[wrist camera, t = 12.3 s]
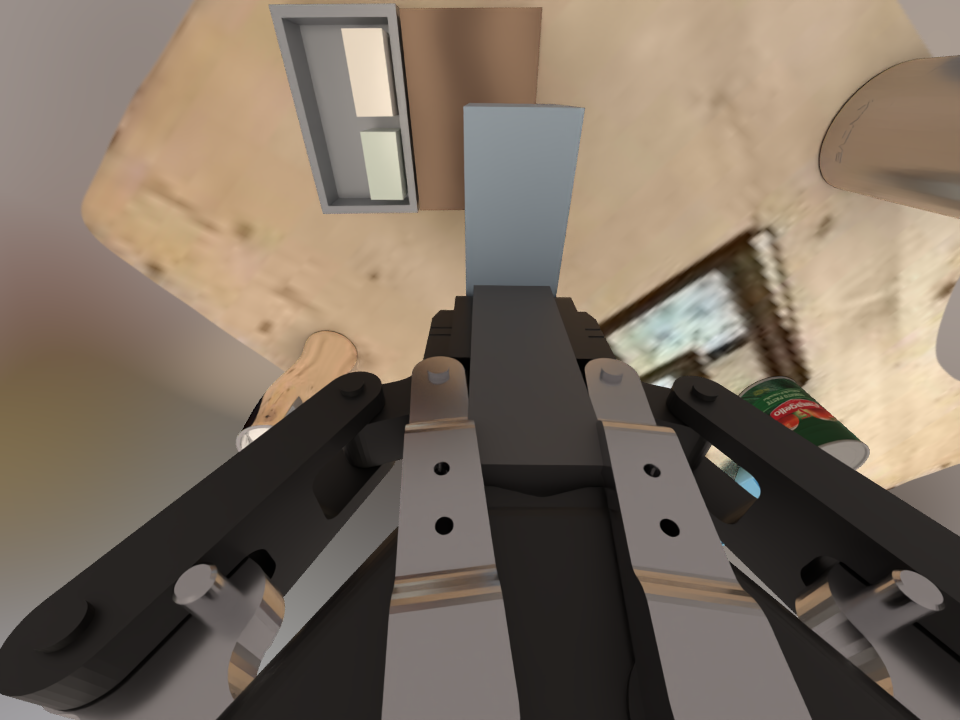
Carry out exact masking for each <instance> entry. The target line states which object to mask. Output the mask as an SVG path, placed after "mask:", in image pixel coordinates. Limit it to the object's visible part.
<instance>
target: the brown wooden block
mask: <svg viewBox="0 0 960 720" xmlns="http://www.w3.org/2000/svg"><path fill="white" fill-rule="evenodd" d="M399 11H400V20H401V30H402V40H403V49H404V59H405V68H406V78H407V88H408V97H409V107H410V117H411V126H412V136H413V146H414V155H415V165H416V175H417V184H418V194H419V204H420V210H465V179H464V111H463V106H465V105H467V104H469V103H504V104H536V90H537V76H538V61H539V47H540V33H541V18H542V7H539V8H407V9H399Z"/></svg>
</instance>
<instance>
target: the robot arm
mask: <svg viewBox="0 0 960 720" xmlns="http://www.w3.org/2000/svg"><path fill="white" fill-rule="evenodd" d="M820 169H821V173H822V176H823V177H824V179H825V180H826V182H827V183H828V184H830V185H832V186H833V187H835V188H839V189H843V190H846V191H850V192H854V193H858V194H862V195H866V196H870V197H874V198H877V199H881V200H885V201H889V202H893V203H897V204H901V205H905V206H909V207H913V208H918V209H922V210H926V211H930V212H934V213H938V214H942V215H946V216H950V217H954V218H958V219H960V55H958V56H946V57H935V58H924V59H915V60H911V61H907V62H903V63H900V64H898V65H896V66H894V67H891V68H889V69H887V70H886V71H884V72H882V73H881V74H879V75H878V76H876V77H874V78H873V79H872V80H870V81H869V82H868V83H867V84H866V85H864V86H863V87H862V88H861V89H860V90H858V91H857V93H856V94H855V95H854V96H853V97H852V98H851V99H850V100H849V101H848V102H847V103H846V104H845V106H844V107H843V108H842V110H841V111H840V112H839V114H838V115H837V116H836V118H835V119H834V121H833V123H832V125H831V126H830V128H829V130H828V132H827V134H826V137H825V139H824V142H823V144H822V149H821V153H820ZM554 299H555V302H556V304H557V307H558V310H559V313H560V316H561V318H562V321H563V324H564V327H565V330H566V332H567V335H568V338H569V341H570V344H571V346H572V349H573V352H574V355H575V357H576V360H577V363H578V366H579V369H580V371H581V374H582V377H583V380H584V383H585V385H586V388H587V391H588V394H589V397H590V399H591V402H592V405H593V408H594V411H595V413H596V416H597V419H598V421H597V422H596V428H597V433H598V439H599V445H600V450H601V456H602V461H603V467H602V470H601V475H602V477H603V480H604V484H605V487H586V488H581V489H577V490H573V491H569V492H565V493H561V494H557V495H553V496H549V497H536V496H532V495H527V494H523V493H519V492H515V491H511V490H507V489H503V488H499V487H495V486H484V483H483V476H482V470H481V463H480V456H479V449H478V443H477V436H476V429H475V423H474V419H468V406H469V383H470V360H471V336H472V313H473V296H456V298H455V306H454V310H440V311H439V312H438V313H437V314H436V315H435V316H434V317H433V318H432V322H431V329H430V331H429V336H428V340H427V345H426V349H425V354H424V358H423V361H421V362H419V363H418V364H417V365H416V366H415V367H414V369H413V371H412V376H410V377H408V378H406V379H403V380H400V381H396V382H391V383H387V384H382V383H381V381H380V379H379V378H378V377H377V376H376V375H374V374H372V373H368V372H352V373H347V374H344V375H342V376H339V377H338V378H336V379H334V380H333V381H331V382H330V383H329V384H327V385H326V386H325V387H324V388H322V389H321V390H320V391H318V392H317V393H316V394H314V395H313V396H312V397H310V398H309V399H308V400H307V401H305V402H304V403H303V404H301V405H300V406H299V407H297V408H296V409H295V410H293V411H292V412H291V413H289V414H288V415H287V416H286V417H284V418H283V419H282V420H280V421H279V422H278V423H276V424H275V425H274V426H272V427H271V428H270V429H269V430H267V431H266V432H265V433H263V434H262V435H261V436H259V437H258V438H257V439H255V440H254V441H253V442H252V443H250V444H249V445H248V446H246V447H245V448H244V449H242V450H241V451H240V452H238V453H237V454H236V455H235V456H233V457H232V458H231V459H229V460H228V461H227V462H225V463H224V464H223V465H221V466H220V467H219V468H217V469H216V470H215V471H214V472H212V473H211V474H210V475H208V476H207V477H206V478H204V479H203V480H202V481H200V482H199V483H198V484H197V485H195V486H194V487H193V488H191V489H190V490H189V491H187V492H186V493H185V494H183V495H182V496H181V497H180V498H178V499H177V500H176V501H174V502H173V503H172V504H170V505H169V506H168V507H166V508H165V509H164V510H163V511H161V512H160V513H159V514H157V515H156V516H155V517H153V518H152V519H151V520H149V521H148V522H147V523H145V524H144V525H143V526H142V527H140V528H139V529H138V530H136V531H135V532H134V533H132V534H131V535H130V536H128V537H127V538H126V539H125V540H123V541H122V542H121V543H119V544H118V545H117V546H115V547H114V548H113V549H111V550H110V551H109V552H107V553H106V554H105V555H104V556H102V557H101V558H100V559H98V560H97V561H96V562H95V563H93V564H92V565H91V566H89V567H88V568H87V569H85V570H84V571H83V572H81V573H80V574H79V575H78V576H76V577H75V578H74V579H72V580H71V581H70V582H68V583H67V584H66V585H64V586H63V587H62V588H60V589H59V590H58V591H56V592H55V593H54V594H52V595H51V596H50V597H49V598H47V599H46V600H45V601H44V602H42V603H41V604H40V605H39V606H37V607H36V608H35V609H34V610H33V611H32V612H31V613H29V614H28V615H27V616H26V617H25V618H24V619H23V620H22V621H21V622H20V624H19V625H18V626H17V627H16V628H15V629H14V630H13V632H12V633H11V634H10V635H9V637H8V638H7V639H6V641H5V642H4V644H3V645H2V647H1V649H0V693H1V694H2V695H6V696H9V697H13V698H16V699H19V700H23V701H27V702H30V703H34V704H37V705H41V706H42V707H43V708H44V709H45V710H46V711H48V712H50V713H53V714H56V715H60V716H64V717H67V718H71V719H75V720H960V537H959V536H958V535H956V534H955V533H953V532H951V531H950V530H948V529H947V528H945V527H944V526H942V525H941V524H939V523H937V522H936V521H934V520H932V519H931V518H930V517H928V516H926V515H925V514H923V513H922V512H920V511H918V510H917V509H915V508H914V507H912V506H911V505H909V504H907V503H906V502H904V501H903V500H901V499H899V498H898V497H896V496H895V495H893V494H892V493H890V492H889V491H887V490H885V489H884V488H882V487H881V486H879V485H878V484H876V483H874V482H873V481H871V480H870V479H868V478H867V477H865V476H863V475H862V474H860V473H859V472H857V471H855V470H854V469H852V468H851V467H849V466H848V465H846V464H844V463H843V462H841V461H840V460H838V459H837V458H835V457H833V456H832V455H830V454H829V453H827V452H826V451H824V450H822V449H821V448H819V447H818V446H816V445H814V444H813V443H811V442H810V441H808V440H807V439H805V438H803V437H802V436H800V435H799V434H797V433H796V432H794V431H792V430H791V429H789V428H788V427H786V426H785V425H783V424H781V423H780V422H778V421H777V420H775V419H774V418H772V417H770V416H769V415H767V414H766V413H764V412H762V411H761V410H759V409H758V408H756V407H755V406H753V405H751V404H750V403H748V402H747V401H745V400H744V399H742V398H740V397H739V396H737V395H736V394H734V393H733V392H731V391H729V390H728V389H726V388H725V387H723V386H721V385H720V384H718V383H716V382H714V381H712V380H709V379H706V378H702V377H698V376H683V377H680V378H678V379H676V380H675V382H674V384H673V386H672V388H671V389H670V388H666V387H661V386H656V385H652V384H648V383H644V382H641V381H640V378H639V376H638V374H637V372H636V371H635V370H634V369H633V368H632V367H631V366H629V365H628V364H626V363H624V362H621V361H619V360H616V358H615V356H614V354H613V352H612V350H611V348H610V346H609V344H608V343H607V341H606V339H605V338H604V335H603V333H602V331H600V327H599V325H598V323H597V321H596V319H594V318H593V317H592V316H590V315H589V314H588V313H587V312H577V310H576V308H575V305H574V303H573V301H572V299H571V298H570V297H554ZM711 445H713V446H715V447H716V448H717V449H719V450H720V451H721V452H722V453H724V454H725V455H726V456H727V457H729V458H730V459H731V460H733V461H734V462H735V463H736V464H738V465H739V466H740V467H742V468H743V469H744V470H745V471H747V472H748V473H749V474H750V475H752V476H753V477H754V478H755V480H756V481H757V483H758V484H759V487H760V496H759V497H758V498H756V497H754V496H753V495H752V494H750V493H749V492H748V491H747V490H745V489H744V488H743V487H742V486H741V485H739V484H738V483H737V482H736V481H734V480H733V479H732V478H731V477H730V476H728V475H727V474H726V473H725V472H723V471H722V470H721V469H720V468H719V467H717V466H716V465H715V464H714V463H712V462H711V461H710V460H709V459H708V458H706V457H705V455H706V453H707V452H708V450H709V449H710V447H711ZM400 459H403V466H402V482H401V498H400V512H399V526H398V527H397V528H396V529H395V530H394V531H393V532H392V533H391V534H390V535H389V536H388V537H387V538H386V539H385V540H384V541H383V542H382V544H381V545H380V546H379V547H378V548H377V549H376V550H375V551H374V552H373V553H372V554H371V555H370V556H369V557H368V559H366V561H365V562H364V563H363V564H362V565H361V566H360V567H359V568H358V569H357V570H356V571H355V572H354V573H353V575H351V576H350V578H349V579H348V580H347V581H346V582H345V583H344V584H343V585H342V586H341V587H340V588H339V589H338V590H337V591H336V592H335V593H334V595H333V596H332V597H331V598H330V599H329V600H328V601H327V602H326V603H325V604H324V605H323V606H322V607H321V608H320V609H319V611H318V612H317V613H316V614H315V615H314V616H313V617H312V618H311V619H310V620H309V621H308V622H307V623H306V624H305V626H303V628H302V629H301V630H300V631H299V632H298V633H297V634H296V635H295V636H294V637H293V638H292V639H291V641H289V643H288V644H287V645H286V646H285V647H284V648H283V649H282V650H281V651H280V652H279V653H278V654H277V655H276V656H275V657H274V658H273V659H272V660H271V661H270V663H269V664H268V665H267V666H266V667H265V668H264V669H263V670H262V671H261V672H260V673H259V674H258V675H257V672H258V669H259V666H260V663H261V660H262V658H263V657H264V655H265V653H266V651H267V650H268V649H269V648H270V646H271V645H272V643H273V641H274V639H275V637H276V635H277V633H278V631H279V629H280V627H281V624H282V622H283V618H284V612H285V603H284V598H283V597H284V596H285V595H286V594H287V592H288V591H289V590H290V589H291V587H292V586H293V585H294V584H295V583H296V582H297V580H298V579H299V578H300V577H301V576H302V574H303V573H304V572H305V571H306V570H307V568H308V567H309V566H310V565H311V564H312V562H313V561H314V560H315V559H316V558H317V557H318V555H319V554H320V553H321V552H322V551H323V549H324V548H325V547H326V546H327V544H328V543H329V542H330V541H331V540H332V538H333V537H334V536H335V535H336V533H338V531H339V530H340V529H341V528H342V527H343V526H344V524H345V523H346V522H347V521H348V519H349V518H350V517H351V516H352V515H353V513H354V512H355V511H356V510H357V509H358V508H359V506H360V505H361V504H362V503H363V502H364V500H365V499H366V498H367V497H368V496H369V495H370V493H371V492H372V491H373V490H374V489H375V487H376V486H377V485H378V484H379V483H380V481H381V480H382V479H383V478H384V477H385V475H386V474H387V473H388V472H389V471H390V469H391V468H392V467H393V465H394V463H395V461H396V460H400ZM721 542H722V543H723V544H724V545H725V546H727V547H728V548H729V549H730V551H732V552H733V553H734V554H735V555H736V556H737V557H738V558H739V559H740V560H741V561H742V562H743V563H744V564H745V565H746V566H747V567H748V568H749V569H750V570H751V571H752V572H753V573H754V574H755V575H756V576H757V577H758V578H759V579H760V580H761V581H762V582H763V583H765V585H766V586H767V587H768V588H769V589H771V590H772V591H773V592H774V593H775V594H776V595H777V596H778V597H779V598H780V599H781V600H782V601H783V602H784V603H785V604H786V605H787V606H788V607H789V608H790V609H791V610H792V611H793V612H794V613H795V614H797V616H798V618H799V619H798V618H797V617H796V616H795V615H793V614H792V613H791V612H790V611H789V610H788V609H786V608H785V607H784V606H783V605H782V604H780V603H779V602H778V601H777V600H776V599H774V598H773V597H772V596H771V595H769V594H768V593H767V592H766V591H765V590H763V589H762V588H761V587H760V586H758V585H757V584H756V583H755V582H754V581H753V580H751V579H750V578H749V577H748V576H746V575H745V574H744V573H743V572H742V571H740V570H739V569H738V568H737V567H736V566H734V565H733V564H732V563H731V562H730V561H728V558H727V556H726V553H725V551H724V548H723V546H722V544H721Z"/></svg>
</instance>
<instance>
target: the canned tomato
mask: <svg viewBox="0 0 960 720" xmlns="http://www.w3.org/2000/svg"><path fill="white" fill-rule="evenodd" d="M739 397H740V398H742V399H744V400H745V401H747V402H748V403H750V404H751V405H753V406H755V407H756V408H758V409H759V410H761V411H762V412H764V413H766V414H767V415H769V416H770V417H772V418H774V419H775V420H777V421H778V422H780V423H781V424H783V425H785V426H786V427H788V428H789V429H791V430H792V431H794V432H796V433H797V434H799V435H800V436H802V437H803V438H805V439H807V440H808V441H810V442H811V443H813V444H814V445H816V446H818V447H819V448H821V449H822V450H824V451H826V452H827V453H829V454H830V455H832V456H833V457H835V458H837V459H838V460H840V461H841V462H843V463H844V464H846V465H848V466H849V467H851V468H852V469H854V470H857V469H858V468H859V467H861V466H862V465H863V464H864V463H865V461H866V460H867V459H868V457H869V454H870V449H869V448H868V446H867V445H866V444H864V443H863V442H862V441H860V440H859V439H858V438H857V437H856V436H855V435H854V434H853V433H852V432H850V431H849V430H848V429H847V428H846V427H845V426H844V425H843V424H842V423H841V422H839V421H838V420H837V419H836V418H835V417H834V416H832V415H831V414H830V413H829V412H828V411H827V410H826V409H825V408H824V407H822V406H821V405H820V404H819V403H818V402H817V401H815V399H814V398H812V397H811V396H810V395H809V394H808V393H806V392H805V390H803V389H802V388H801V387H800V386H798V385H797V384H796V382H795V381H794V380H792V379H790V378H788V377H783V376H777V377H770V378H766V379H763V380H760V381H758V382H756V383H754V384H752V385H750V386H749V387H748V388H746V389H745V390H744V391H743V392H742V393H741V394H740V395H739Z"/></svg>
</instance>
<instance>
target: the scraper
mask: <svg viewBox="0 0 960 720" xmlns="http://www.w3.org/2000/svg"><path fill="white" fill-rule="evenodd" d="M463 111H464V179H465V246H466V296H473V313H472V336H471V360H470V383H469V406H468V419H474V423H475V429H476V436H477V443H478V449H479V456H480V463H481V470H482V476H483V483H484V486H495V487H499V488H503V489H507V490H511V491H515V492H519V493H523V494H527V495H532V496H536V497H549V496H553V495H557V494H561V493H565V492H569V491H573V490H577V489H581V488H586V487H605V484H604V480H603V477H602V475H601V470H602V467H603V461H602V456H601V450H600V445H599V439H598V433H597V428H596V422H597V421H598V419H597V416H596V413H595V411H594V408H593V405H592V402H591V399H590V397H589V394H588V391H587V388H586V385H585V383H584V380H583V377H582V374H581V371H580V369H579V366H578V363H577V360H576V357H575V355H574V352H573V349H572V346H571V344H570V341H569V338H568V335H567V332H566V330H565V327H564V324H563V321H562V318H561V316H560V313H559V310H558V307H557V304H556V302H555V299H554V297H556V293H557V286H558V280H559V273H560V267H561V261H562V254H563V248H564V241H565V235H566V228H567V222H568V215H569V209H570V202H571V196H572V189H573V183H574V176H575V170H576V163H577V157H578V150H579V144H580V137H581V131H582V124H583V118H584V111H585V108H581V107H573V106H564V105H556V104H504V103H469V104H467V105H465V106H463Z"/></svg>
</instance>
